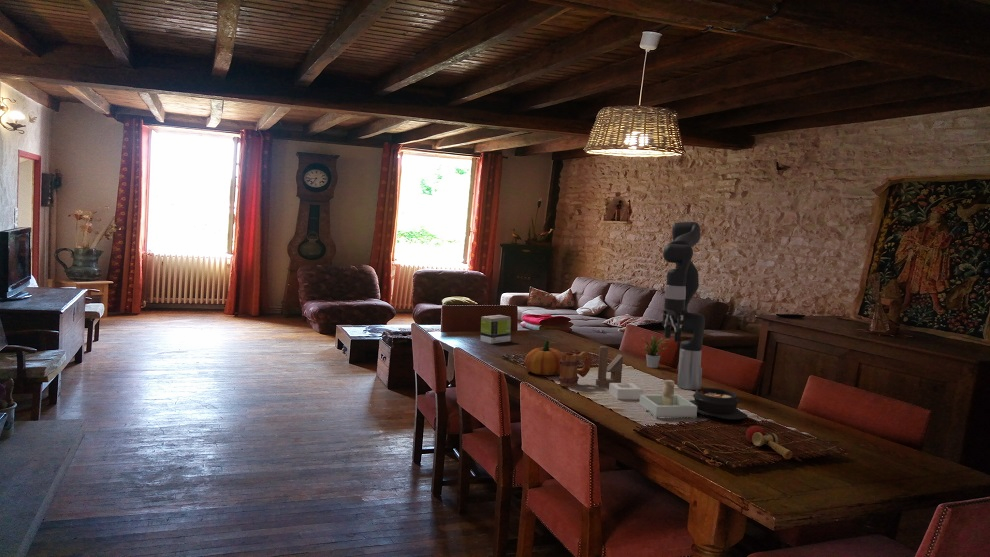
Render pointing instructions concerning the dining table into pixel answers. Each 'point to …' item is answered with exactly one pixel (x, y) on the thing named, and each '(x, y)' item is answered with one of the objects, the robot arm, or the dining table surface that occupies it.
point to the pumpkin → (544, 361)
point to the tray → (677, 410)
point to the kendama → (766, 440)
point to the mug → (573, 368)
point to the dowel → (668, 393)
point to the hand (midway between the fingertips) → (672, 339)
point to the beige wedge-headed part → (608, 368)
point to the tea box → (495, 329)
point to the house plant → (653, 352)
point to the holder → (624, 390)
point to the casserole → (717, 403)
